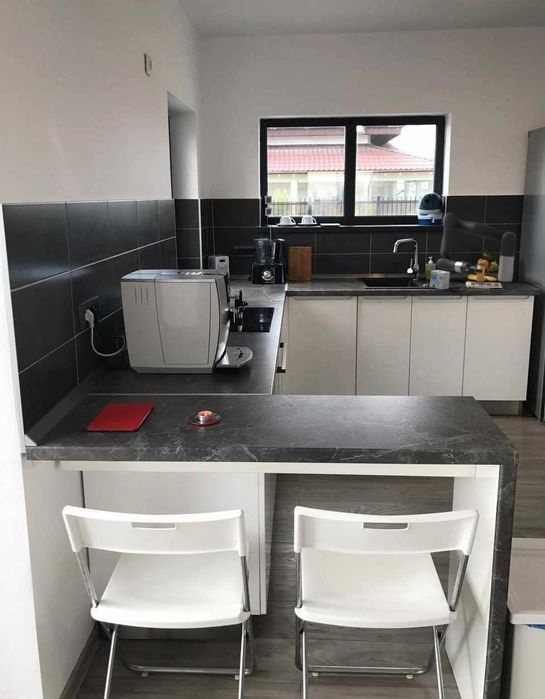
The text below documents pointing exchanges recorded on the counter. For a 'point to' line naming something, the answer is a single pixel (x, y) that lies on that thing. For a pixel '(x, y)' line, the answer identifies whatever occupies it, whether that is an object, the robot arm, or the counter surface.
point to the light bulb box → (439, 279)
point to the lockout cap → (481, 275)
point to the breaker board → (483, 285)
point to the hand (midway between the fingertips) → (484, 271)
